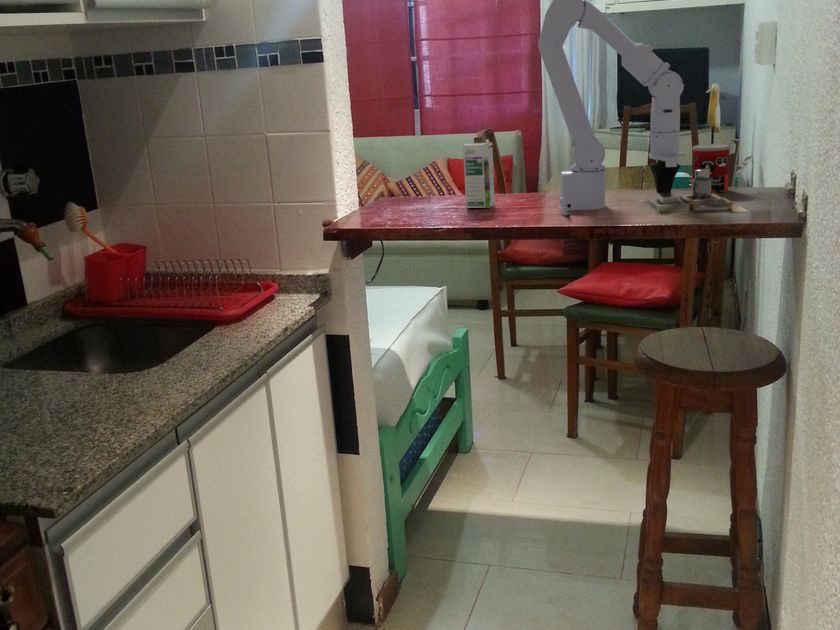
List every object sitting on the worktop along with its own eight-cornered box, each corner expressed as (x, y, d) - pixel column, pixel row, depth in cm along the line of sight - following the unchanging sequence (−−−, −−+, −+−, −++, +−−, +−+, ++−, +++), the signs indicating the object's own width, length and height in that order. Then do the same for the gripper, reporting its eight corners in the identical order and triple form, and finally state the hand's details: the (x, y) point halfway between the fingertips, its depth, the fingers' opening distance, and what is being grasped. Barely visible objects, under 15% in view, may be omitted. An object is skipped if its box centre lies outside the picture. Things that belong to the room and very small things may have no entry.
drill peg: (694, 206, 167) (695, 171, 165) (690, 203, 170) (691, 169, 168) (712, 205, 166) (713, 170, 164) (707, 202, 170) (709, 168, 168)
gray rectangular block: (662, 209, 165) (663, 197, 164) (657, 204, 171) (657, 193, 170) (678, 208, 165) (678, 196, 164) (671, 203, 171) (672, 192, 170)
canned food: (688, 198, 181) (689, 148, 178) (694, 192, 188) (696, 144, 185) (724, 199, 178) (726, 147, 174) (729, 193, 184) (732, 143, 181)
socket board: (658, 220, 160) (658, 206, 159) (642, 205, 176) (643, 192, 175) (748, 216, 158) (748, 201, 158) (724, 201, 175) (724, 188, 174)
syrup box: (465, 209, 187) (462, 144, 183) (471, 204, 192) (468, 142, 188) (489, 209, 185) (487, 143, 181) (495, 204, 190) (492, 141, 186)
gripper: (693, 133, 160) (691, 202, 164) (677, 127, 174) (675, 191, 178) (656, 135, 161) (655, 204, 165) (643, 129, 175) (642, 193, 178)
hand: (663, 197), depth 171 cm, fingers closed
